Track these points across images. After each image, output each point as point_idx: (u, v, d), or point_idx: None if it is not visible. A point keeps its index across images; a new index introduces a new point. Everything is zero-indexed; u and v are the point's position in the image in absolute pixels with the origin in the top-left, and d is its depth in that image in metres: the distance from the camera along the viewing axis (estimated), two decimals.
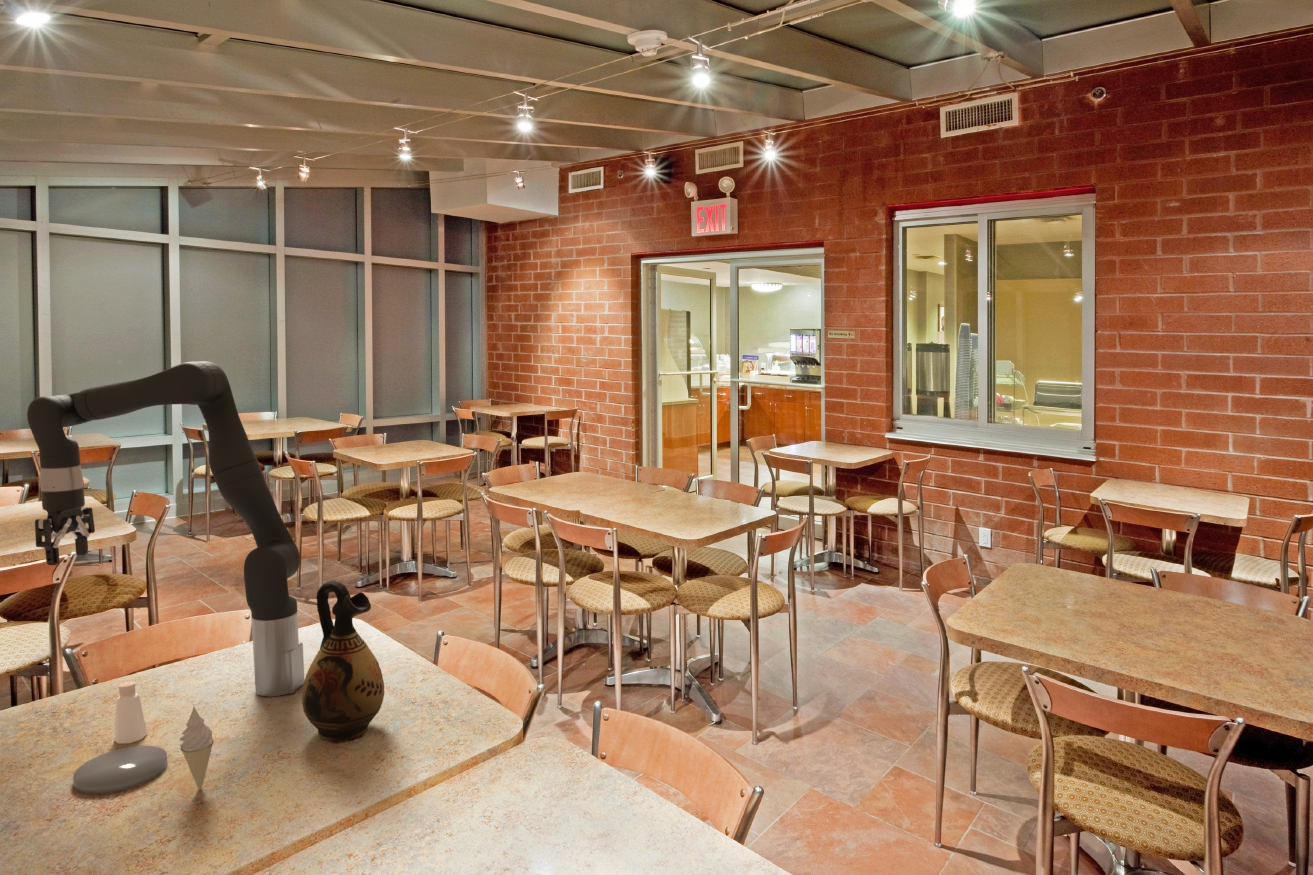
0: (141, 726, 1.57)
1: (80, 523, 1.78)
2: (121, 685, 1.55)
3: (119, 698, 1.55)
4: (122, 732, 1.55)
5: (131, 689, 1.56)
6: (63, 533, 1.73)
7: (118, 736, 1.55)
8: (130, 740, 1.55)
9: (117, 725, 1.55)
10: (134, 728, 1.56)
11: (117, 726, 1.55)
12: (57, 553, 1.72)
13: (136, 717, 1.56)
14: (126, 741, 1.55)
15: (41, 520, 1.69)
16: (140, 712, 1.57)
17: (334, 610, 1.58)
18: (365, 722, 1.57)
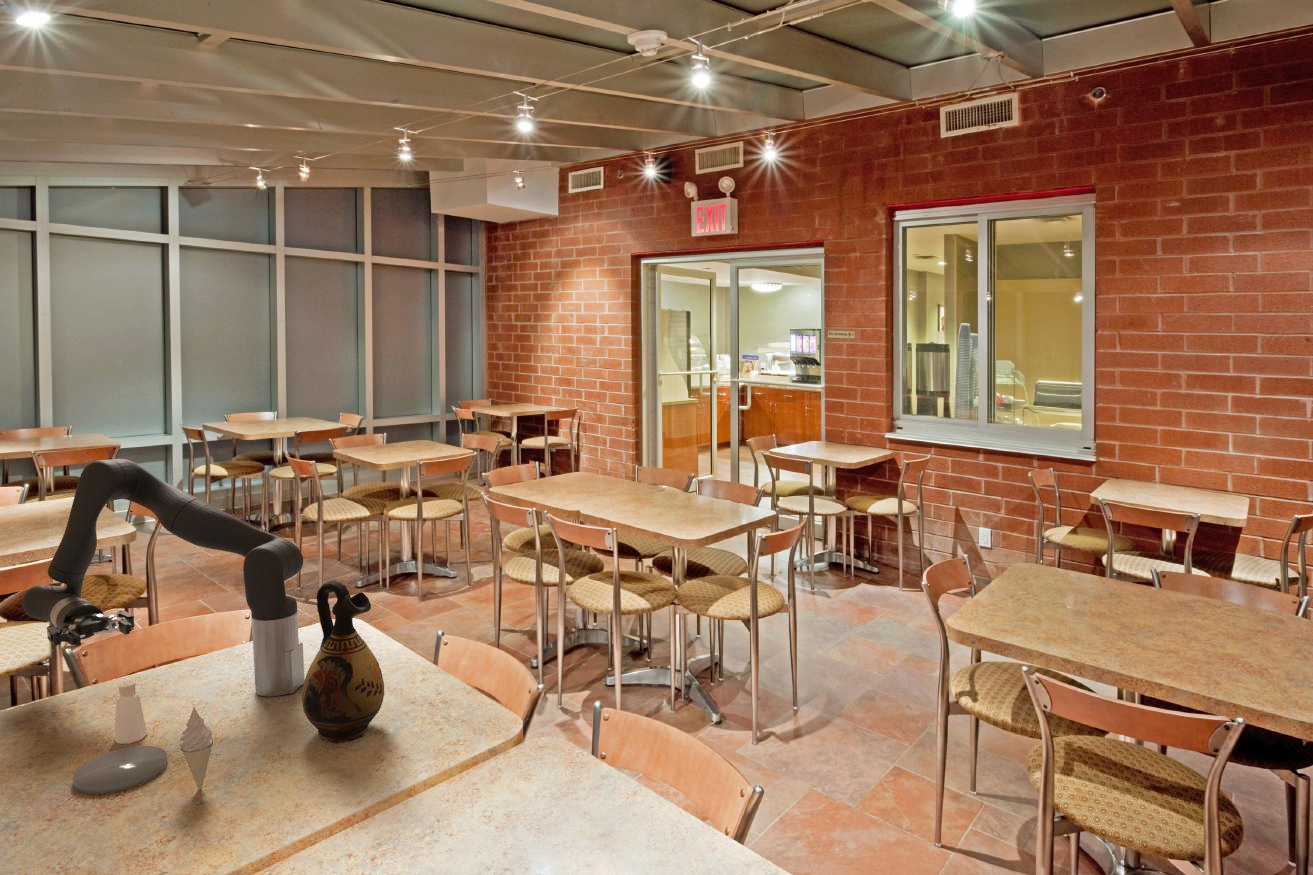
0: (141, 726, 1.57)
1: (102, 616, 1.68)
2: (121, 685, 1.55)
3: (119, 698, 1.55)
4: (122, 732, 1.55)
5: (131, 689, 1.56)
6: (74, 623, 1.64)
7: (118, 736, 1.55)
8: (130, 740, 1.55)
9: (117, 725, 1.55)
10: (134, 728, 1.56)
11: (117, 726, 1.55)
12: (73, 633, 1.60)
13: (136, 717, 1.56)
14: (126, 741, 1.55)
15: None
16: (140, 712, 1.57)
17: (334, 610, 1.58)
18: (365, 722, 1.57)
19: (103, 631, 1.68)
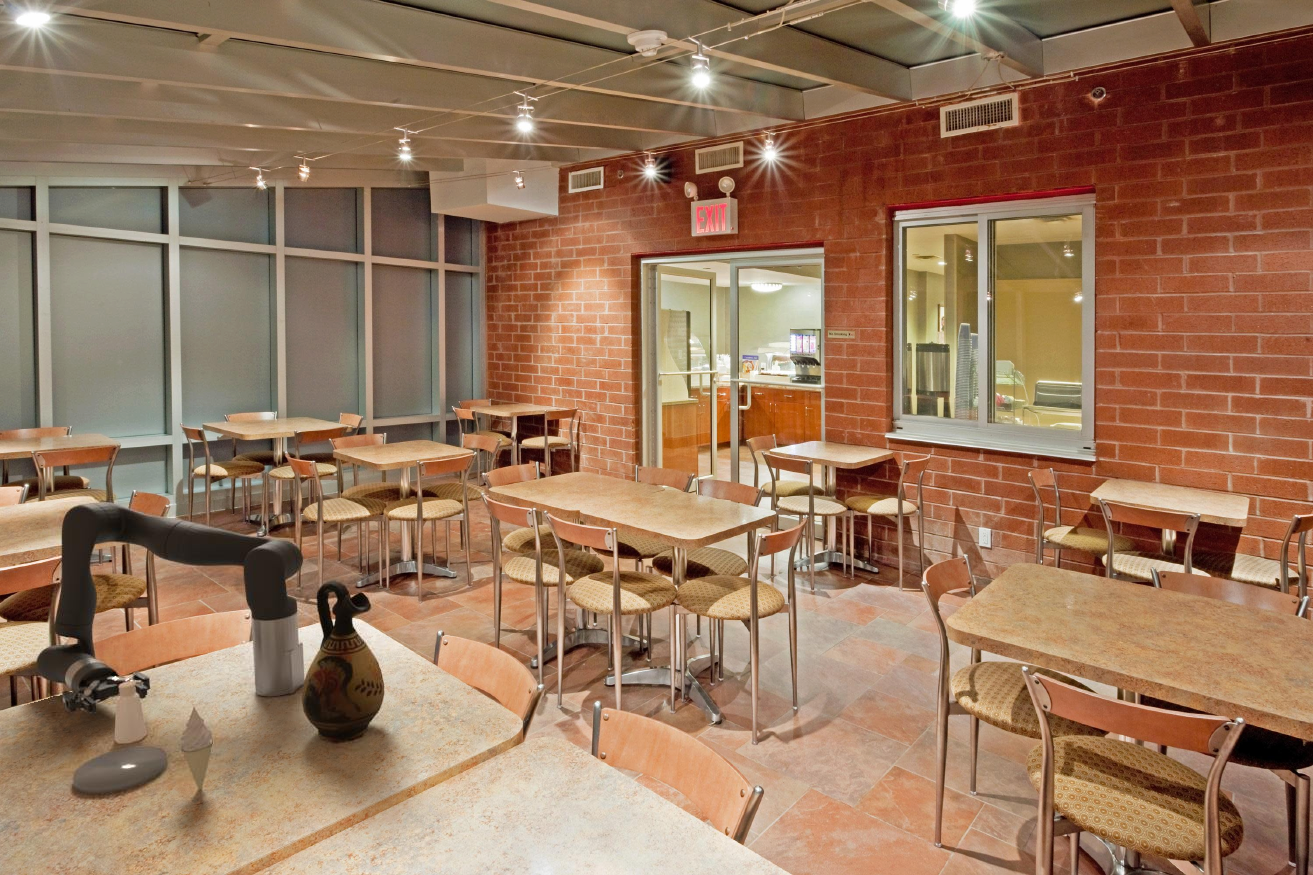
0: (141, 726, 1.57)
1: (117, 679, 1.66)
2: (121, 685, 1.55)
3: (119, 698, 1.55)
4: (122, 732, 1.55)
5: (131, 689, 1.56)
6: (90, 688, 1.61)
7: (118, 736, 1.55)
8: (130, 740, 1.55)
9: (117, 725, 1.55)
10: (134, 728, 1.56)
11: (117, 726, 1.55)
12: (89, 699, 1.58)
13: (136, 717, 1.56)
14: (126, 741, 1.55)
15: None
16: (140, 712, 1.57)
17: (334, 610, 1.58)
18: (365, 722, 1.57)
19: (119, 694, 1.66)
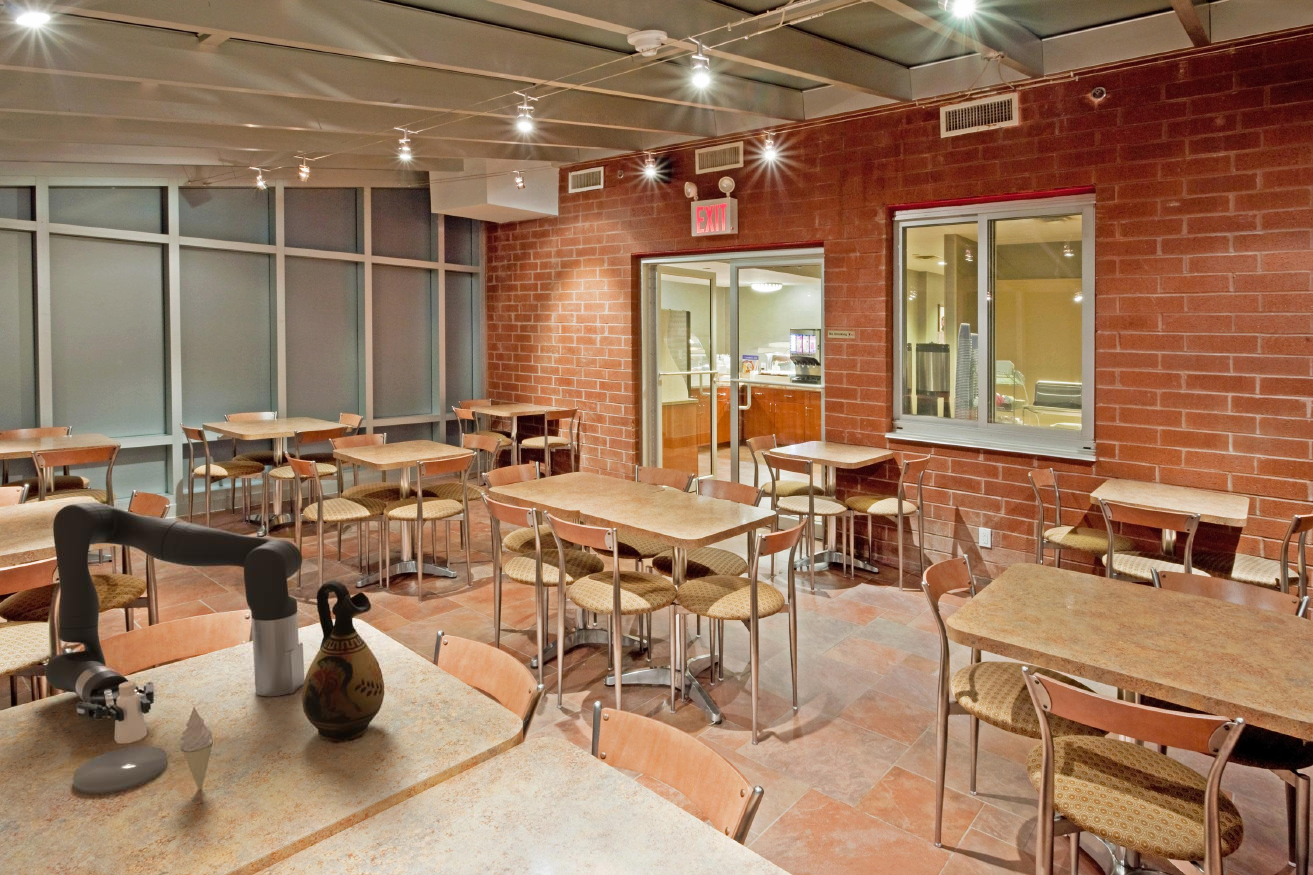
0: (141, 726, 1.57)
1: None
2: (121, 685, 1.55)
3: (119, 698, 1.55)
4: (122, 732, 1.55)
5: (131, 689, 1.56)
6: (109, 696, 1.58)
7: (118, 736, 1.55)
8: (130, 740, 1.55)
9: (117, 725, 1.55)
10: (134, 728, 1.56)
11: (117, 726, 1.55)
12: (116, 707, 1.55)
13: (136, 717, 1.56)
14: (127, 741, 1.55)
15: (77, 709, 1.56)
16: (140, 712, 1.57)
17: (334, 610, 1.58)
18: (365, 722, 1.57)
19: None
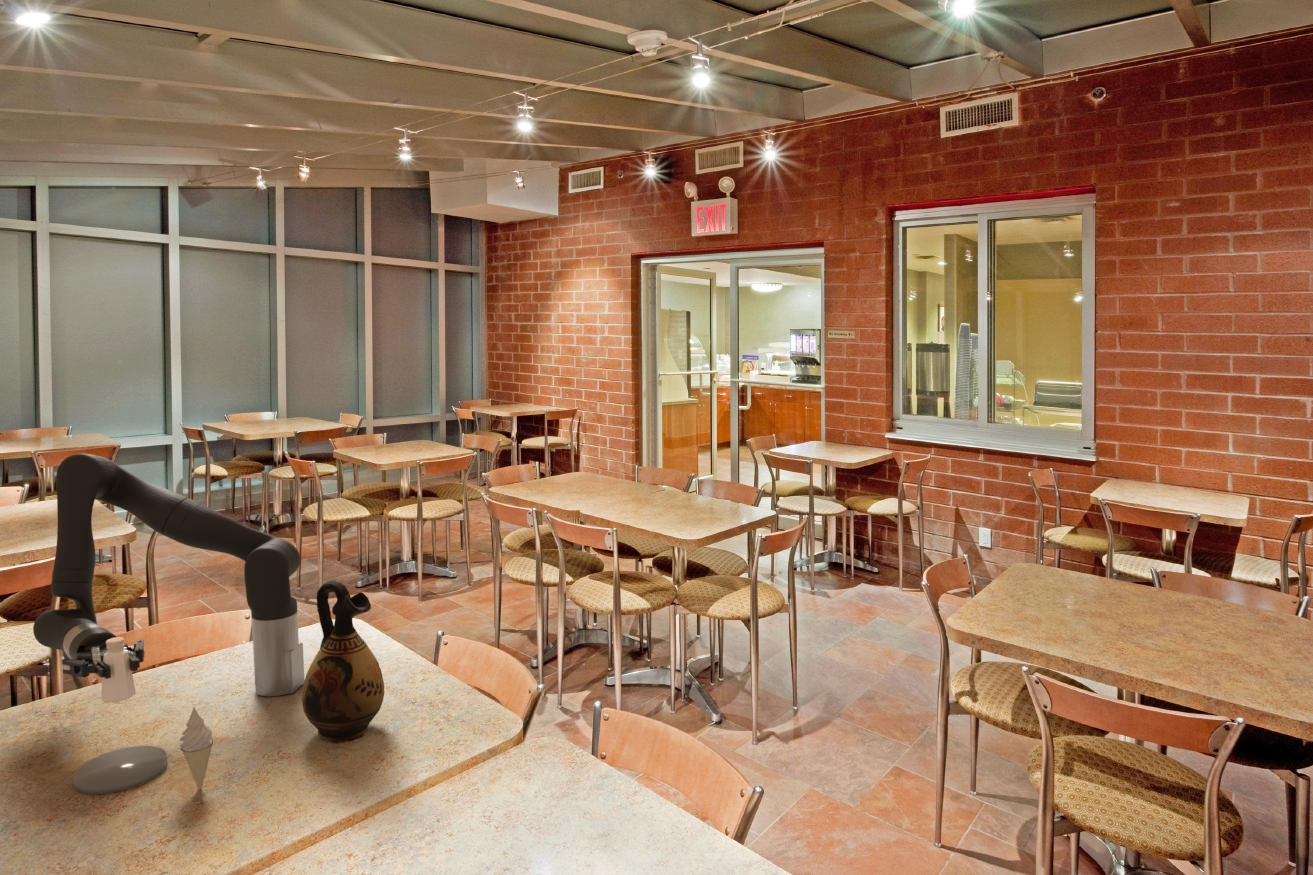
0: (130, 684, 1.48)
1: None
2: (108, 640, 1.47)
3: (106, 654, 1.46)
4: (109, 690, 1.46)
5: (119, 645, 1.47)
6: (96, 653, 1.49)
7: (105, 694, 1.46)
8: (117, 699, 1.46)
9: (104, 683, 1.46)
10: (122, 686, 1.47)
11: (104, 684, 1.46)
12: (102, 663, 1.46)
13: (124, 675, 1.47)
14: (114, 700, 1.46)
15: (62, 665, 1.47)
16: (128, 670, 1.48)
17: (334, 610, 1.58)
18: (365, 722, 1.57)
19: None
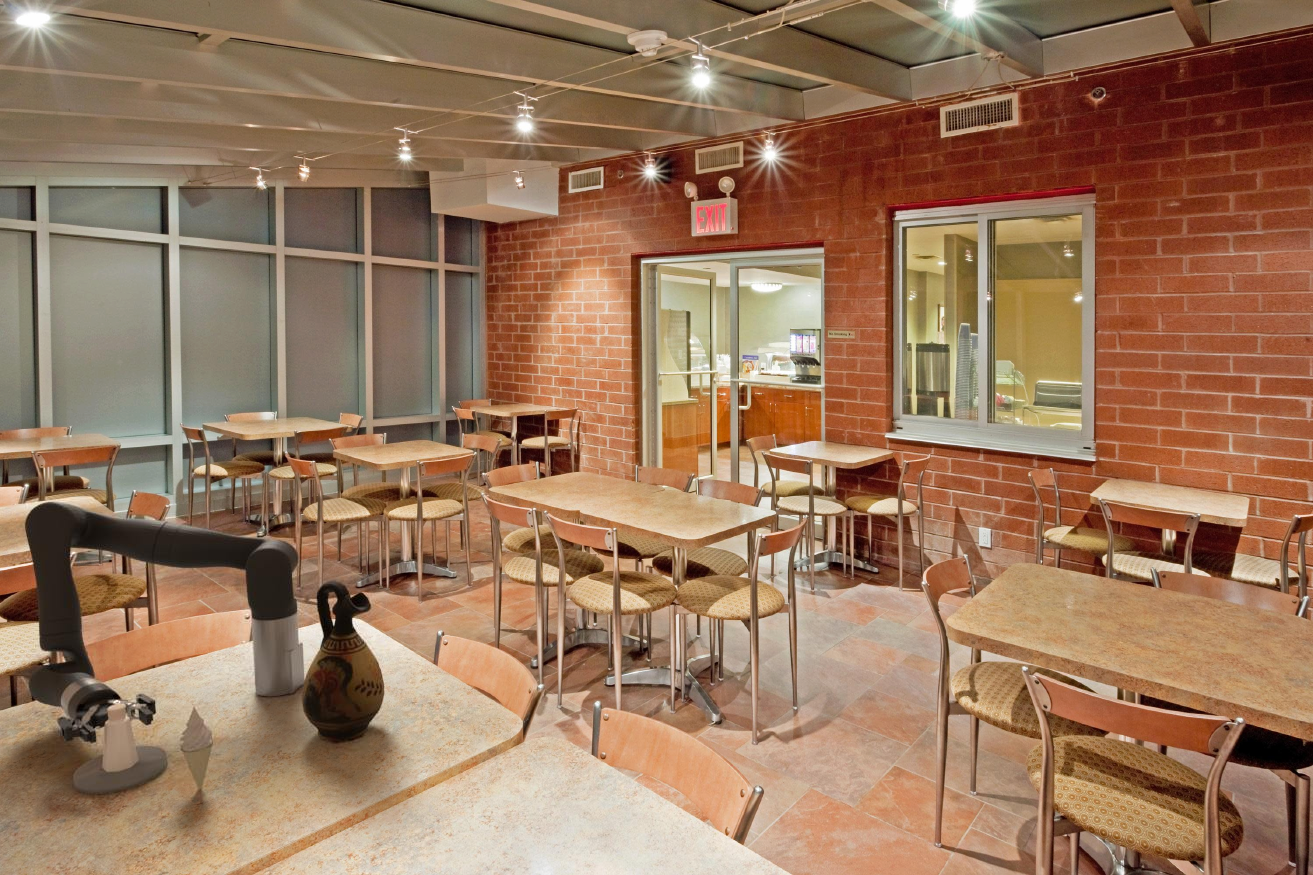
0: (132, 752, 1.44)
1: (120, 702, 1.48)
2: (110, 708, 1.42)
3: (108, 722, 1.42)
4: (111, 759, 1.42)
5: (121, 712, 1.42)
6: (89, 714, 1.44)
7: (107, 764, 1.42)
8: (120, 768, 1.42)
9: (105, 752, 1.42)
10: (124, 755, 1.42)
11: (105, 753, 1.42)
12: (88, 727, 1.40)
13: (127, 743, 1.43)
14: (116, 770, 1.42)
15: None
16: (131, 737, 1.44)
17: (334, 610, 1.58)
18: (365, 722, 1.57)
19: None
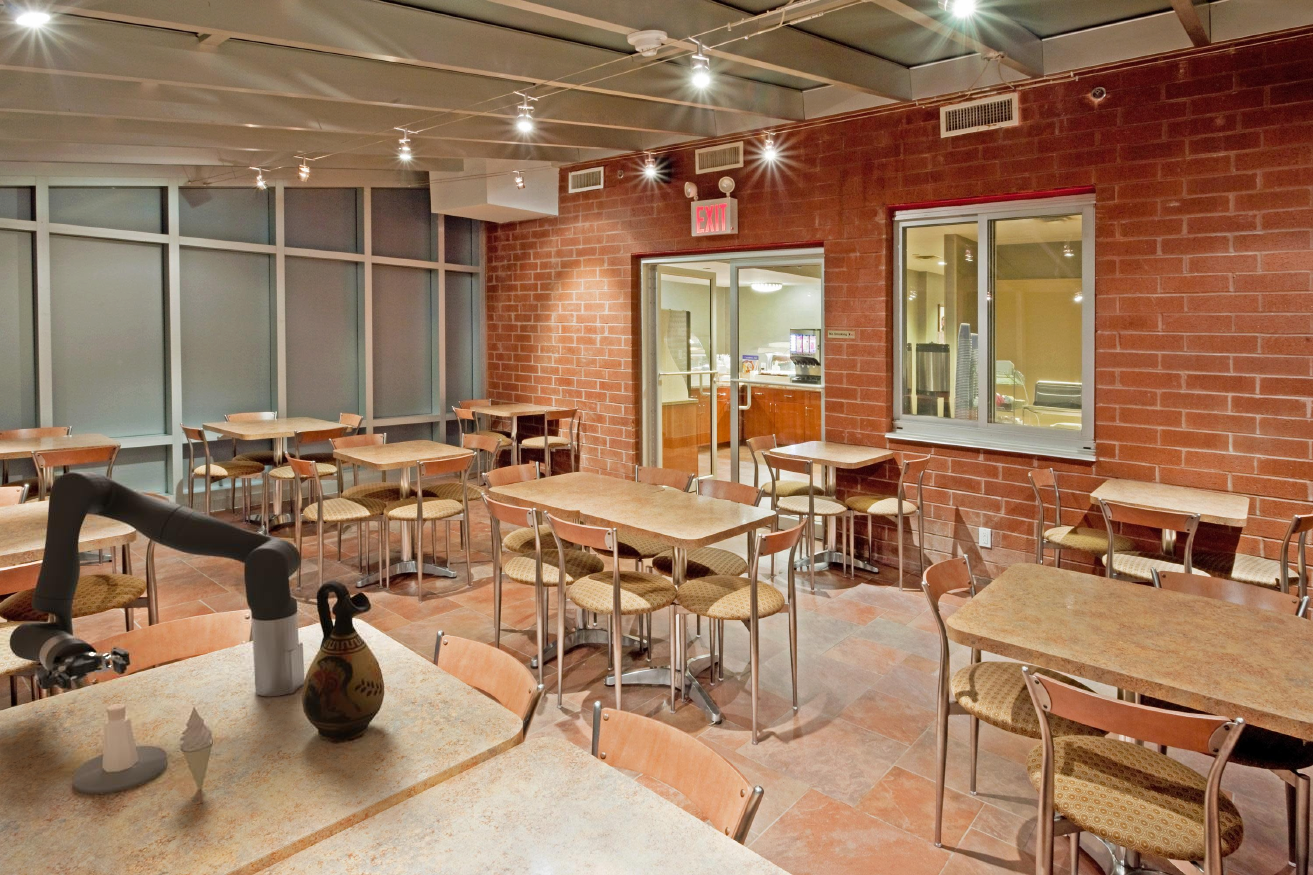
0: (132, 752, 1.44)
1: (95, 654, 1.56)
2: (110, 708, 1.42)
3: (108, 722, 1.42)
4: (111, 759, 1.42)
5: (121, 712, 1.42)
6: (64, 664, 1.51)
7: (107, 764, 1.42)
8: (120, 768, 1.42)
9: (105, 752, 1.42)
10: (124, 755, 1.42)
11: (105, 753, 1.42)
12: (63, 675, 1.47)
13: (127, 743, 1.43)
14: (116, 770, 1.42)
15: None
16: (131, 737, 1.44)
17: (334, 610, 1.58)
18: (365, 722, 1.57)
19: (96, 671, 1.55)
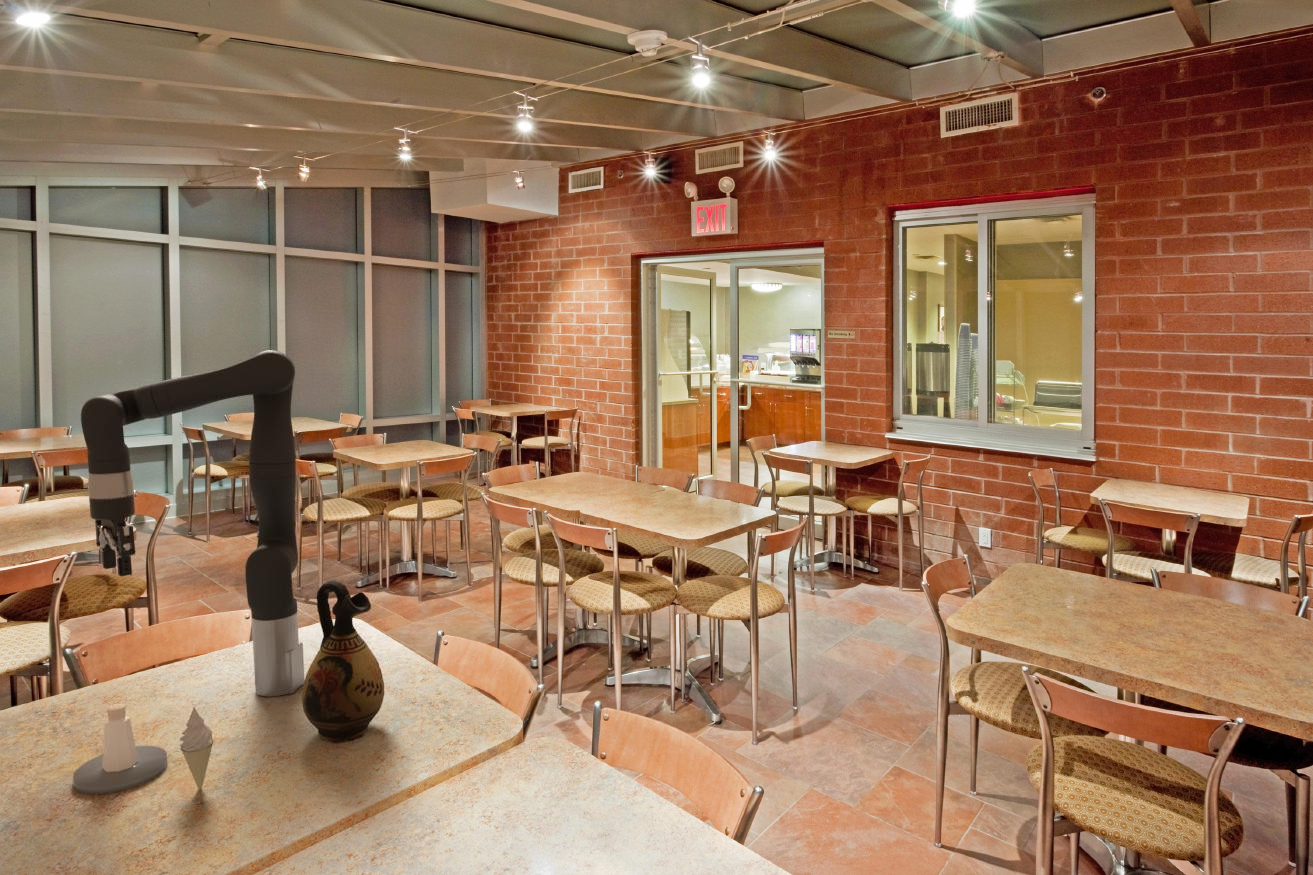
0: (132, 752, 1.44)
1: None
2: (110, 708, 1.42)
3: (108, 722, 1.42)
4: (111, 759, 1.42)
5: (121, 712, 1.43)
6: None
7: (107, 764, 1.42)
8: (120, 768, 1.42)
9: (105, 752, 1.42)
10: (124, 755, 1.43)
11: (105, 753, 1.42)
12: None
13: (127, 743, 1.43)
14: (116, 770, 1.42)
15: (126, 527, 1.60)
16: (131, 737, 1.44)
17: (334, 610, 1.58)
18: (365, 722, 1.57)
19: (103, 538, 1.64)
